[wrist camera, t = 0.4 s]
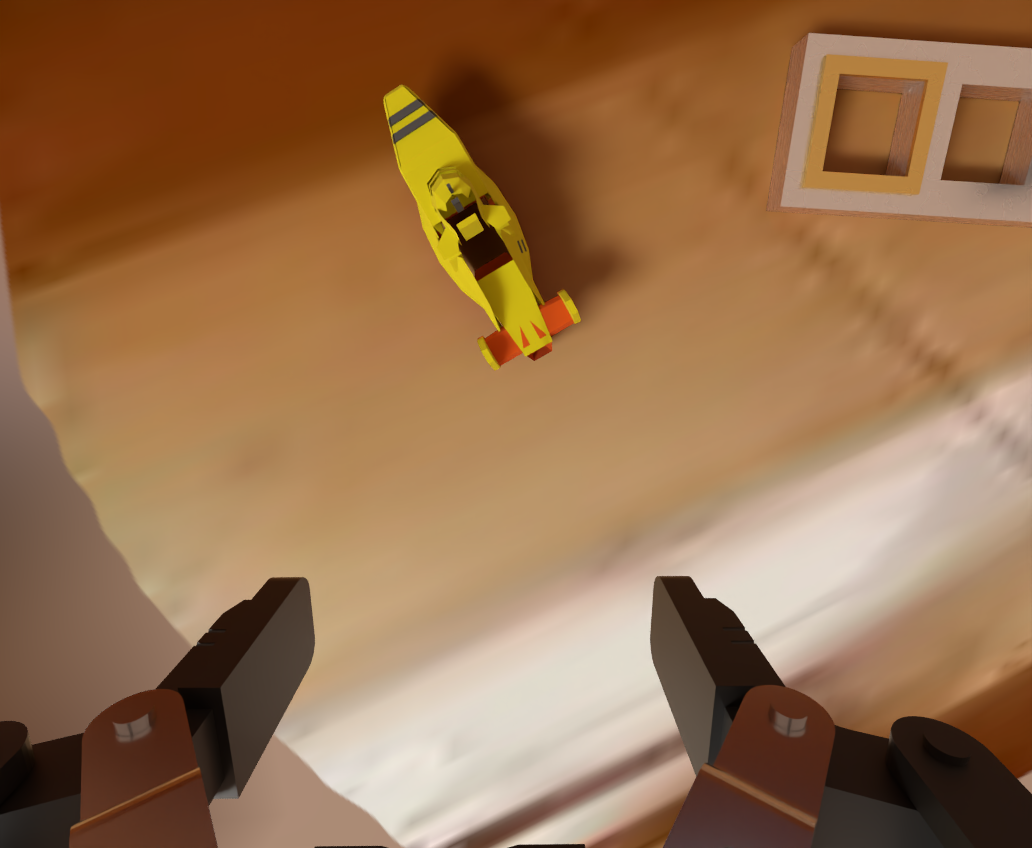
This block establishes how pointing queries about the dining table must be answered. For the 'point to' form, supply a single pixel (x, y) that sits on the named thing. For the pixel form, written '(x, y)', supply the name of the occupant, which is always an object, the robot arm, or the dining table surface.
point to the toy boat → (473, 231)
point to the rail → (902, 130)
